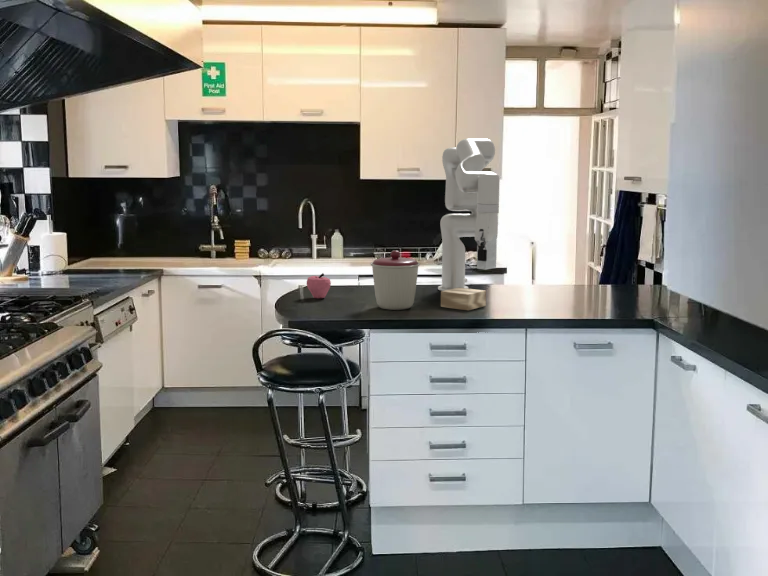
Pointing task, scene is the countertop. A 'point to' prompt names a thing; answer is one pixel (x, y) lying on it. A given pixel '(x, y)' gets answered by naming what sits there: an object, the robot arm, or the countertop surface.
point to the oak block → (463, 298)
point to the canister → (395, 281)
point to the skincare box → (489, 255)
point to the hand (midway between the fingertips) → (486, 259)
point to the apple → (318, 285)
